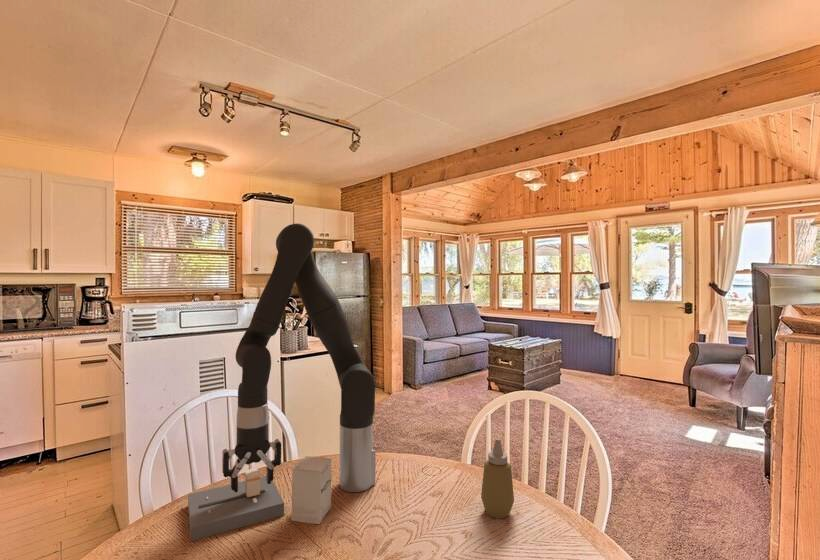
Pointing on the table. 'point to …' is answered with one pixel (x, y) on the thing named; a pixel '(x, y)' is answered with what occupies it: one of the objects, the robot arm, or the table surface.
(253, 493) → the fader
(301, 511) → the supplement box
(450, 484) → the table surface
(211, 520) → the console
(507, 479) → the squeeze bottle
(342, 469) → the robot arm
